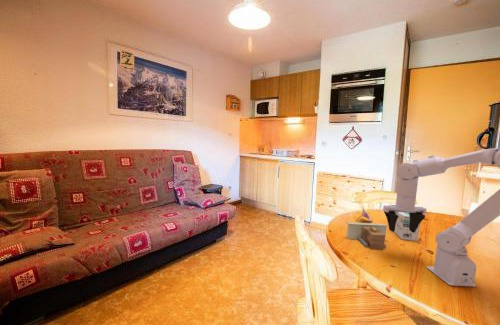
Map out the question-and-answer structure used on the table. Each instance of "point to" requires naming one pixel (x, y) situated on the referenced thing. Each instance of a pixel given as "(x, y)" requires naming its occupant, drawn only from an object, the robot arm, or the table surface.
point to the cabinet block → (373, 237)
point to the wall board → (356, 230)
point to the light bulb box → (405, 227)
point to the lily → (365, 214)
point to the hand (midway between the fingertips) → (401, 231)
